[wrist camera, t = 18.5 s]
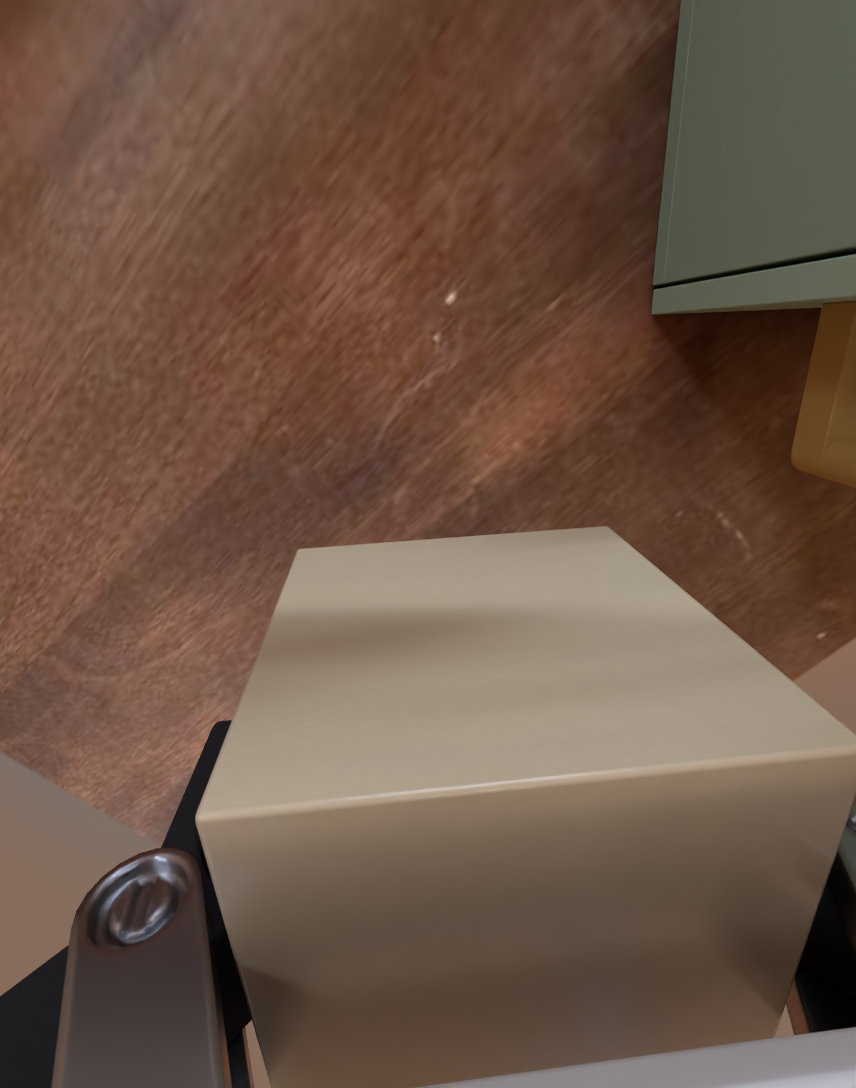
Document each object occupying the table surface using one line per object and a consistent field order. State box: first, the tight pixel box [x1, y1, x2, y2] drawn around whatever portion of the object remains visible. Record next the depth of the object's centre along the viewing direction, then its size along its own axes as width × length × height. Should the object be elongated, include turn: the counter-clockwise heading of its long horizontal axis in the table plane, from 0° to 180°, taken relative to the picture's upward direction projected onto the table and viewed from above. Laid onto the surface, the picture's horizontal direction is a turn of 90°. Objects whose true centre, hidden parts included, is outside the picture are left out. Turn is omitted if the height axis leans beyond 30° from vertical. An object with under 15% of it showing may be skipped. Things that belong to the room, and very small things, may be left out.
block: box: [195, 526, 856, 1088], centre depth 8 cm, size 6×6×6 cm
